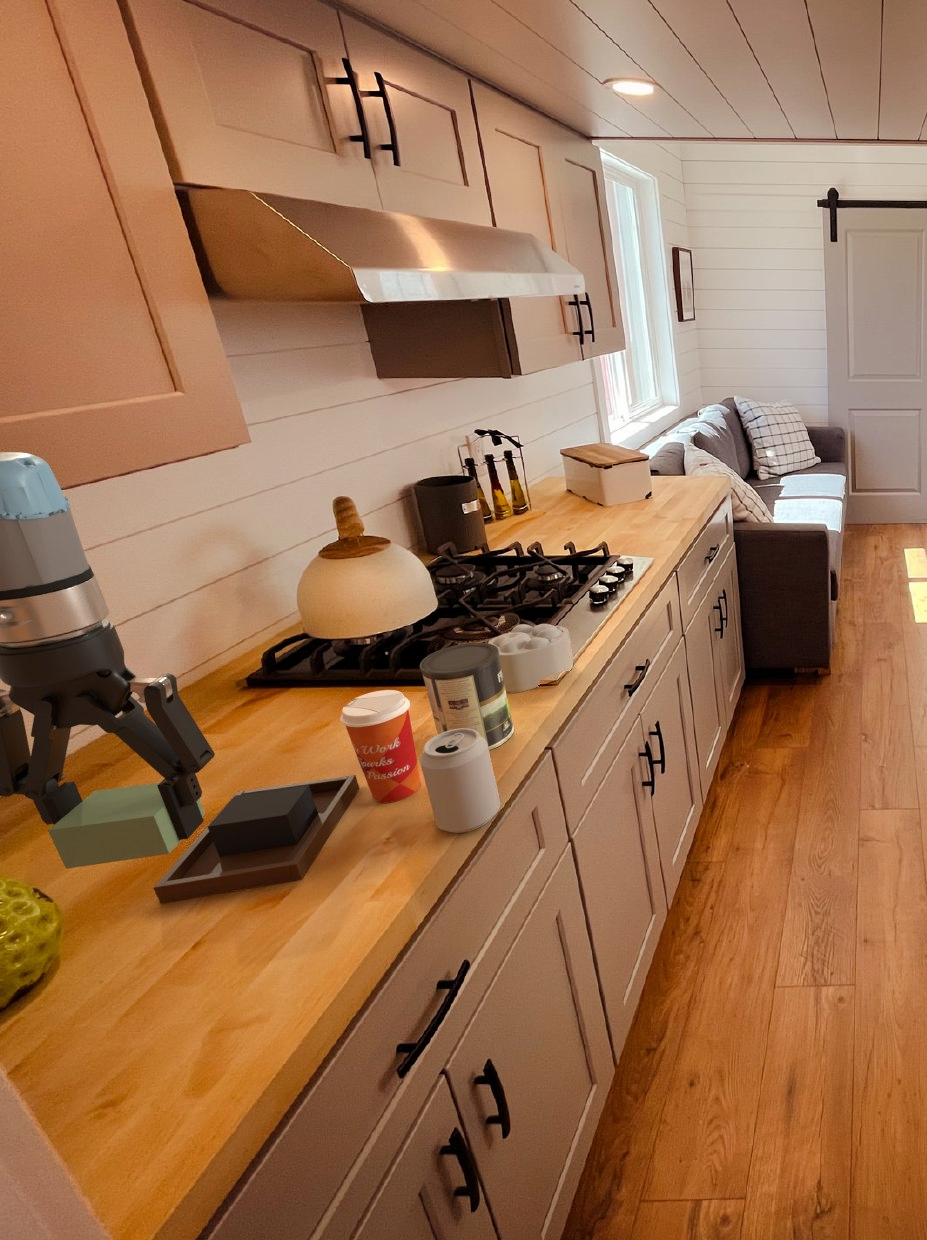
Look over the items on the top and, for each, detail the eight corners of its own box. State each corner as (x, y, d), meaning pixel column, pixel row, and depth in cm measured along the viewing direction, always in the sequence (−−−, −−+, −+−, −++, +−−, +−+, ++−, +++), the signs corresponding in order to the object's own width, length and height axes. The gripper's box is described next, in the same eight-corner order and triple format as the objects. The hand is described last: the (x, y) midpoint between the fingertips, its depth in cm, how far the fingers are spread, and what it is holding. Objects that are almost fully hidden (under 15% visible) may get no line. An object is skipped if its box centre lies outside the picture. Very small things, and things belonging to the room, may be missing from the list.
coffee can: (503, 712, 119) (487, 635, 114) (523, 739, 112) (507, 658, 107) (432, 736, 113) (412, 655, 108) (448, 765, 106) (428, 680, 101)
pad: (65, 869, 68) (47, 830, 66) (110, 827, 73) (94, 790, 72) (169, 854, 70) (153, 816, 68) (205, 814, 75) (192, 778, 74)
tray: (160, 903, 81) (153, 888, 80) (243, 805, 97) (237, 791, 96) (302, 879, 85) (296, 864, 84) (359, 788, 100) (355, 774, 100)
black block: (219, 857, 87) (207, 826, 85) (245, 824, 92) (234, 795, 91) (297, 844, 89) (286, 814, 87) (318, 813, 94) (309, 785, 93)
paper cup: (350, 808, 96) (323, 718, 92) (386, 773, 104) (362, 688, 99) (410, 807, 97) (386, 717, 92) (441, 772, 104) (420, 687, 99)
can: (423, 834, 92) (401, 754, 88) (463, 797, 99) (445, 721, 95) (476, 840, 91) (457, 760, 87) (513, 802, 98) (497, 726, 94)
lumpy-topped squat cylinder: (489, 675, 131) (480, 632, 128) (561, 653, 140) (555, 612, 137) (509, 696, 124) (500, 651, 121) (584, 672, 133) (577, 629, 130)
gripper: (-151, 662, 58) (-31, 885, 65) (168, 636, 63) (243, 845, 71) (-65, 624, 64) (35, 830, 72) (216, 603, 70) (280, 797, 78)
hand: (138, 837), depth 72 cm, fingers closed on pad, 8 cm apart
